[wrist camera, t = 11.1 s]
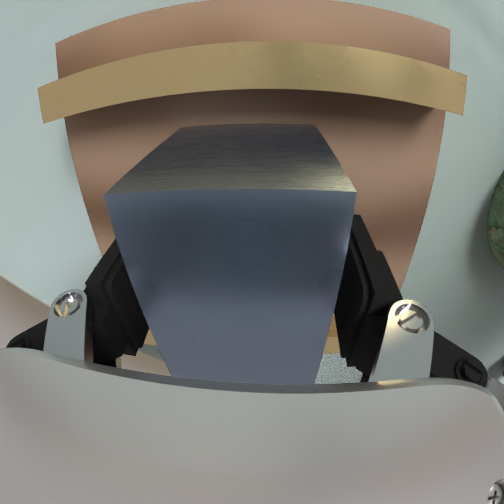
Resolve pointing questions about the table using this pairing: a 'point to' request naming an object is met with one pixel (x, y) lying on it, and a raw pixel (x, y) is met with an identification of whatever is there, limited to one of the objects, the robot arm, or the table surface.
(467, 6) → the table surface
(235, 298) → the block
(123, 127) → the channel stand
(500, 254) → the decorative artifact
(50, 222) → the table surface
